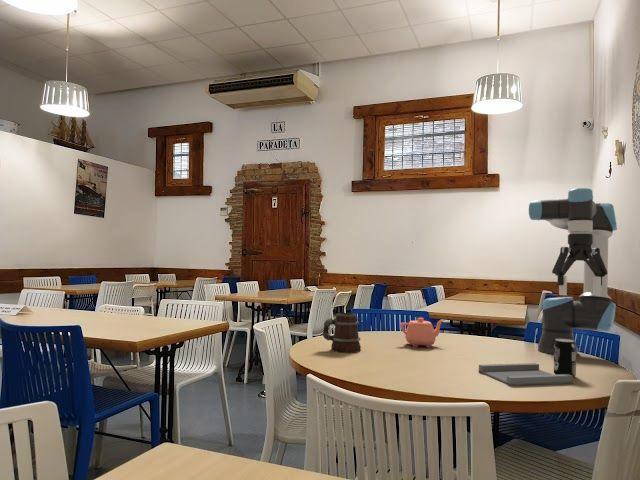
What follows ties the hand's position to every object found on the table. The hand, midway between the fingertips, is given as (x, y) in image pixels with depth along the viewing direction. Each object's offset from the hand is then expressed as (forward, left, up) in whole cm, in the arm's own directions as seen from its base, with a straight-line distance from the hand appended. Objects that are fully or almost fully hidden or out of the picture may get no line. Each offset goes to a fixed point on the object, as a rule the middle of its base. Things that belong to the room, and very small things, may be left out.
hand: (580, 295), depth 163 cm
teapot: (+32, -57, -27) cm, 71 cm away
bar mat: (+22, +1, -27) cm, 35 cm away
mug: (+71, -50, -27) cm, 91 cm away
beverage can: (+7, +1, -27) cm, 28 cm away
